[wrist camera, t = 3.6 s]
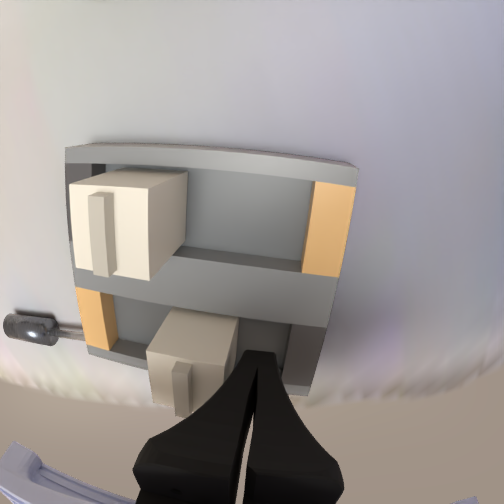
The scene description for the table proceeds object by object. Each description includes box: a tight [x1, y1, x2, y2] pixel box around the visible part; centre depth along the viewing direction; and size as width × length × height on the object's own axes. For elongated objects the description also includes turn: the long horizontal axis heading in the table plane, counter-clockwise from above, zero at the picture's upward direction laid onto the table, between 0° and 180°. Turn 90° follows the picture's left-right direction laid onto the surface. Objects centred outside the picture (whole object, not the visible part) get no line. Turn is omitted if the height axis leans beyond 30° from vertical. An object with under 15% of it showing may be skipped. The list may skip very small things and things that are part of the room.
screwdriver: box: [3, 314, 124, 346], centre depth 17 cm, size 10×2×2 cm, turn 95°
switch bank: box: [65, 143, 359, 396], centre depth 14 cm, size 12×11×2 cm
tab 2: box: [146, 306, 239, 418], centre depth 13 cm, size 3×3×5 cm
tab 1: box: [69, 168, 188, 281], centre depth 11 cm, size 3×3×5 cm
